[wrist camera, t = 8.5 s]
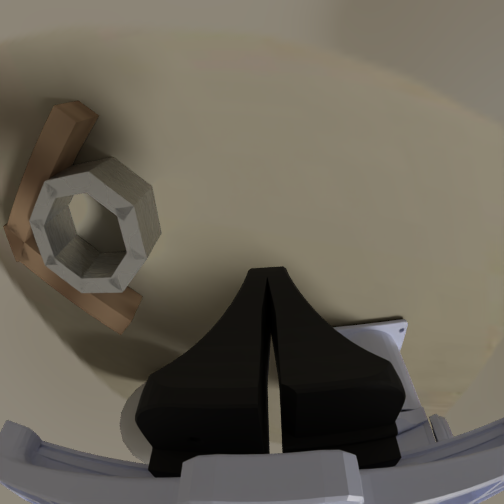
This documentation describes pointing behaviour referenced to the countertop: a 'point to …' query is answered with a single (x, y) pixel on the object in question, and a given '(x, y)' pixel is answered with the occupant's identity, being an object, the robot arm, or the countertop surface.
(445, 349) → the countertop surface
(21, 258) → the vee stop
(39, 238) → the ring
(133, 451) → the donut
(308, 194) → the countertop surface
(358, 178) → the countertop surface
